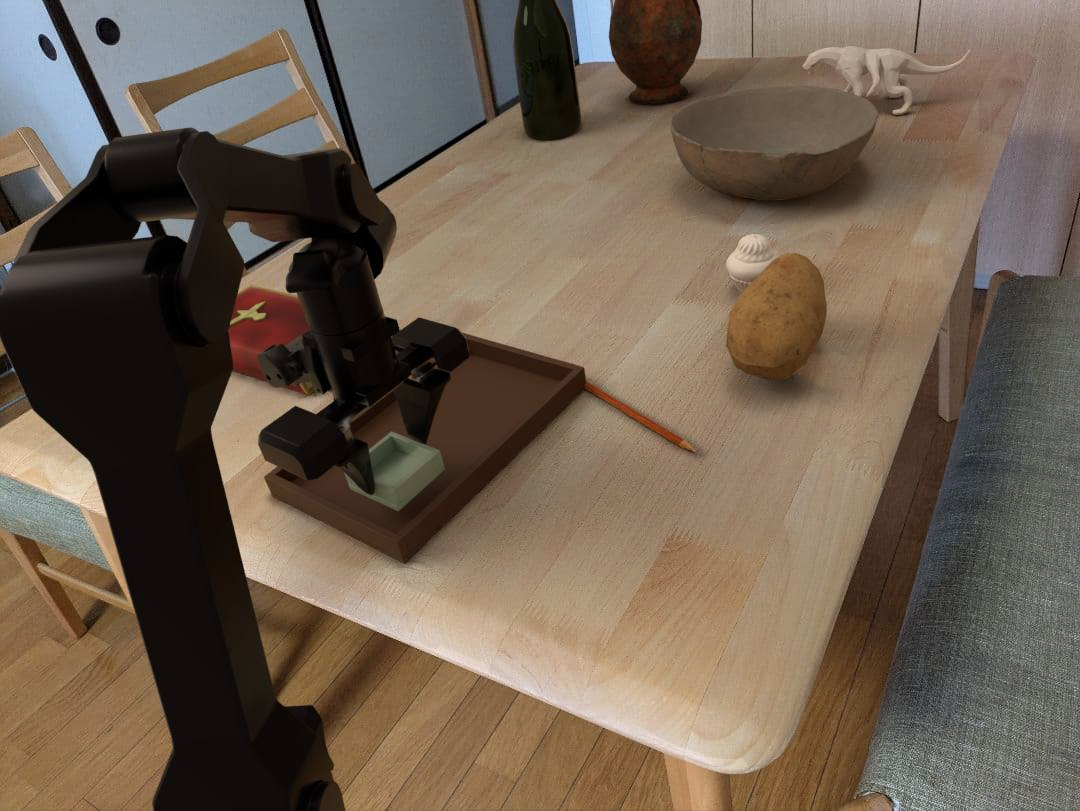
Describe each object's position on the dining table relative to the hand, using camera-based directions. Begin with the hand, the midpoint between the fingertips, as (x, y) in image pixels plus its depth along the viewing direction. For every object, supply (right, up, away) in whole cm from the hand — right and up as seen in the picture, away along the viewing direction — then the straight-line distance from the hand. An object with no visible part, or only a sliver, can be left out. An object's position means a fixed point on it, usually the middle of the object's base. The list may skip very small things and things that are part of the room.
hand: (395, 470), depth 73 cm
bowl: (+46, +38, +48) cm, 76 cm away
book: (-18, +12, +28) cm, 36 cm away
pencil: (+21, +5, +9) cm, 24 cm away
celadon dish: (0, -1, +1) cm, 1 cm away
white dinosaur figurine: (+69, +55, +65) cm, 109 cm away
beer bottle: (+15, +55, +78) cm, 97 cm away
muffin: (+37, +19, +24) cm, 48 cm away
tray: (+2, +2, +10) cm, 10 cm away
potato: (+37, +10, +13) cm, 40 cm away
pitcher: (+37, +64, +85) cm, 112 cm away
